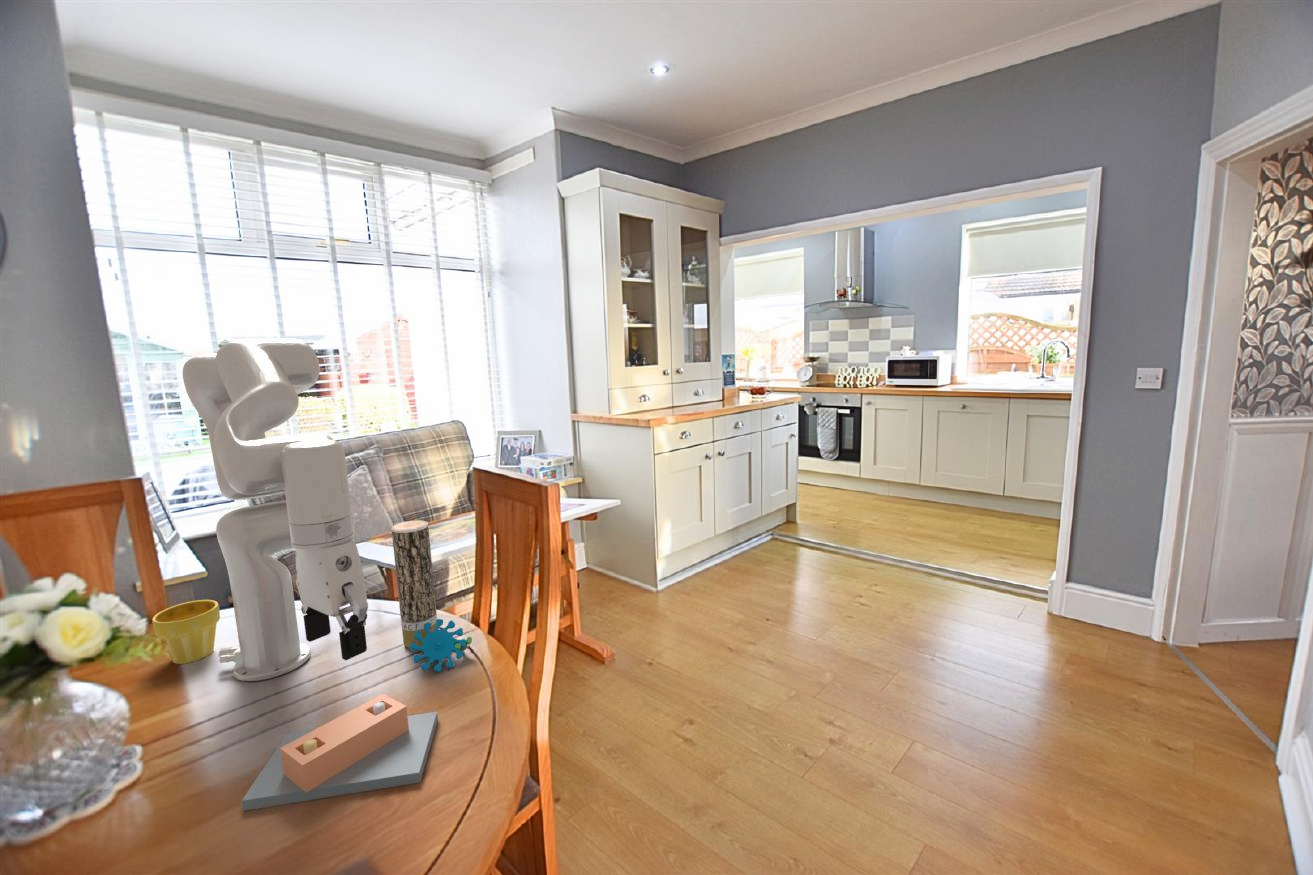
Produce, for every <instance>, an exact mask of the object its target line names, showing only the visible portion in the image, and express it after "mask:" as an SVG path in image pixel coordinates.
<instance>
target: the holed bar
mask: <svg viewBox="0 0 1313 875" xmlns="http://www.w3.org/2000/svg"><path fill="white" fill-rule="evenodd" d="M380 702H383V703H385V711H383V712H382V713H380V714H378V715H376V716H375V715H374V711H373V706H374V705H375V704H377V703H380ZM408 716H409V715H408V708H407V705H406V704H403V703H401V702H399V701H397V700H396V699H395V698H392V697H390V696H388V695H386V694H385V693H381V694H379V695H377V696H375V697H374V698H371V699H370V700H368V701H366V702H364V703H363V704H360V705H359V706H357V707H355V708H353V709H351V710H349V711H347V712H345V713H344V714H341V715H340V716H337V717H336V718H334V719H331V720H330V721H328V722H327V723H325V724H322V725H321V726H319V727H317V728H314V729H315V730H313V731H311V732H309V733H308V734H306V735H304V736H302V737H300V738H298V739H296V740H294V741H293V742H291V743H289V744H287V745H285V746H283V747H281V748H280V753H281V760H282V767H283V774H284V775H285V776H286V777H287V778H289V779H290V780H291V781H292V782H294V783H295V784H296V785H297V786H299V787H300V788H301V789H302V790H304V791H305V792H306V793H307V792H308V791H310V790H312V789H313V788H315V787H316V786H318V785H320V784H321V783H323V782H325V781H326V780H328V779H330V778H331V777H333V776H334V775H336V774H338V773H339V772H341V771H343V770H344V769H346V768H348V767H349V766H351V765H353V764H354V763H356V762H357V761H359V760H361V759H362V758H364V757H366V756H367V755H369V754H371V753H372V752H374V751H375V750H377V749H379V748H380V747H382V746H384V745H385V744H387V743H389V742H390V741H392V740H393V739H395V738H397V737H398V736H400V735H402V734H403V733H405V732H407V731H408V730H409V725H408ZM311 739H315V740H317V749H315V750H314V751H312V752H310V753H308V754H307V755H304V748H303V744H304V743H305V742H306V741H308V740H311Z"/></svg>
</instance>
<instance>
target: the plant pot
mask: <svg viewBox="0 0 1313 875" xmlns="http://www.w3.org/2000/svg"><path fill="white" fill-rule="evenodd" d="M220 619H221V611H220V604H219V603H218V601H216V600H213V599H199V600H192V601H187V602H182V603H179V604H176V605H172V606H170V607H168V608H165V609H164V610H161V611H159V612H158V613H156V614H155V615H153V617H152V619H151V623H152V627H153V628H152V629H153V632H154V635H155V636H156V637H157V636H162V637H163V638H166V640H167V643H168V646H169V653H168V652H167V653H168V655H169V658H170V660H171V661H172V663H174V664H175V665H179V664H180V665H183V664H190V663H194V662H196V661H200V660H202V659H204V658H206V657H208V656H209V655H211V654H212V653H213V651H214V649H215V641H216V631H217V624H218V622H219V621H220Z"/></svg>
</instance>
